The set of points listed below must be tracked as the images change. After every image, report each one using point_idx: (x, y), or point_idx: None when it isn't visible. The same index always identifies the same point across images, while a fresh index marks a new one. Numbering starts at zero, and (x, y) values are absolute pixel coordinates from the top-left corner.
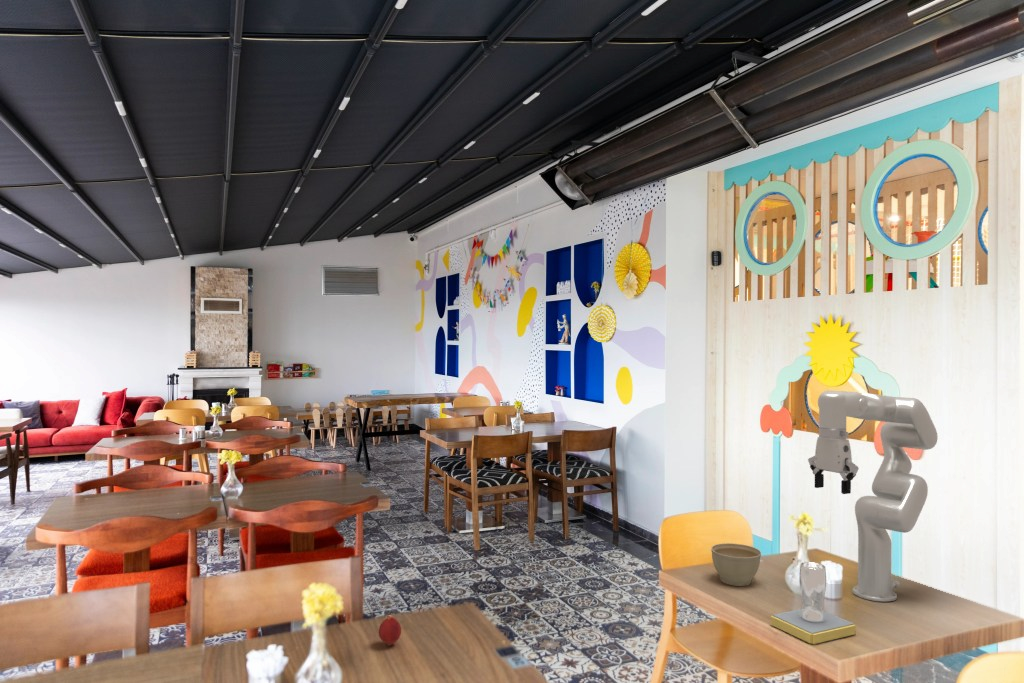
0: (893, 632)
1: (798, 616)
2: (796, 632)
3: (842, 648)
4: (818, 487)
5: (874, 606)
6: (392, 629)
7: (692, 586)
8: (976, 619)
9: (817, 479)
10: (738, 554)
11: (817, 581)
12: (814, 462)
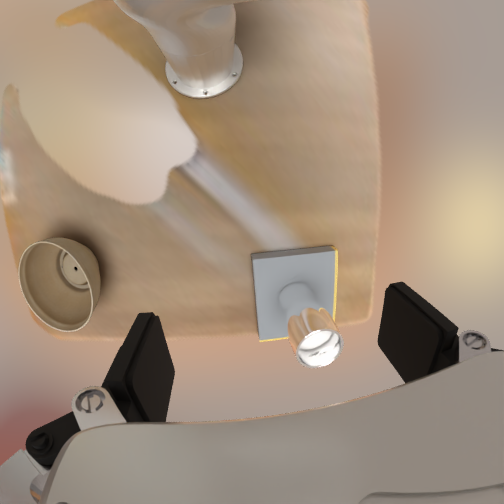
0: (346, 180)
1: (280, 311)
2: None
3: (352, 294)
4: (170, 357)
5: (249, 108)
6: None
7: (94, 337)
8: (345, 23)
9: (164, 410)
10: (34, 253)
11: (333, 341)
12: (37, 484)
